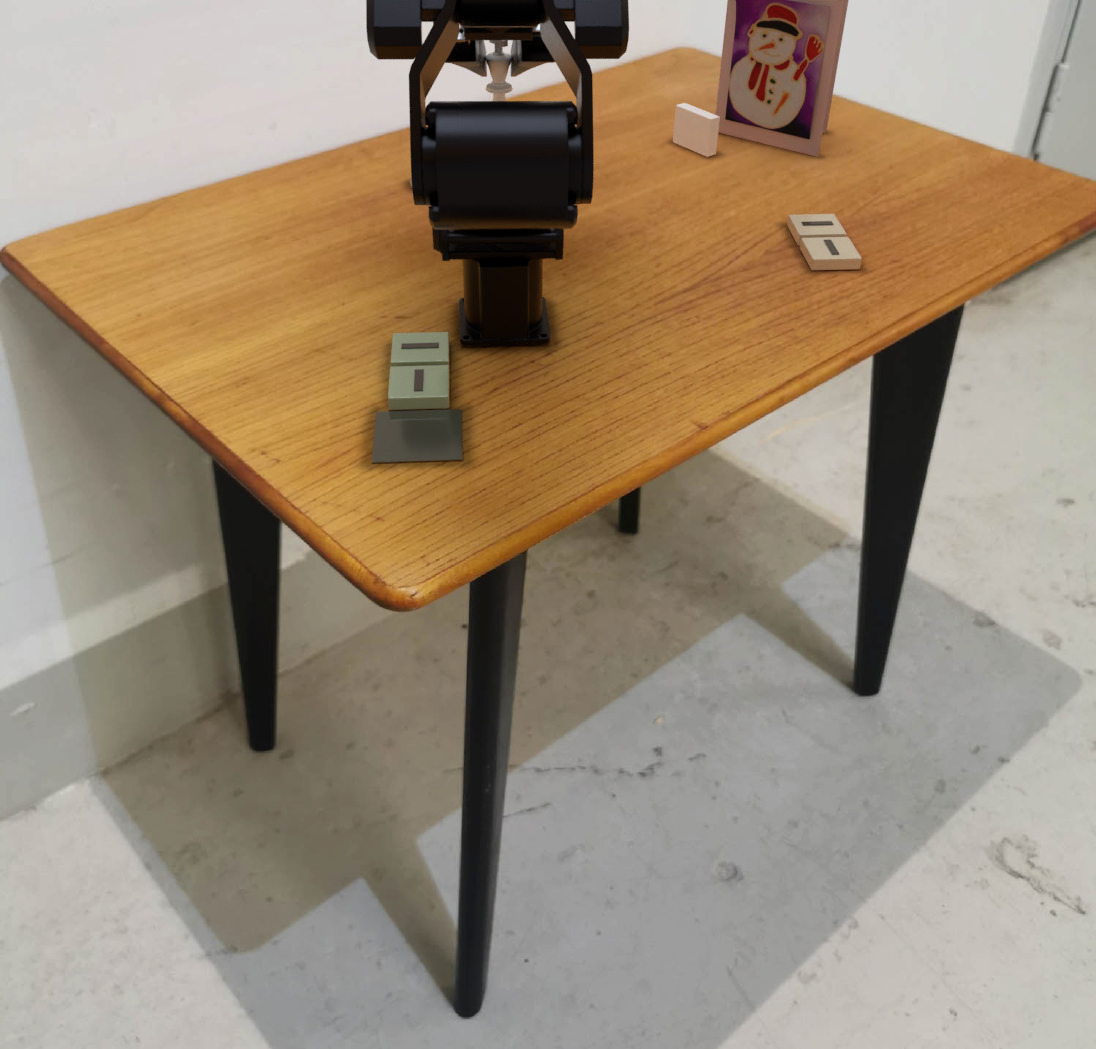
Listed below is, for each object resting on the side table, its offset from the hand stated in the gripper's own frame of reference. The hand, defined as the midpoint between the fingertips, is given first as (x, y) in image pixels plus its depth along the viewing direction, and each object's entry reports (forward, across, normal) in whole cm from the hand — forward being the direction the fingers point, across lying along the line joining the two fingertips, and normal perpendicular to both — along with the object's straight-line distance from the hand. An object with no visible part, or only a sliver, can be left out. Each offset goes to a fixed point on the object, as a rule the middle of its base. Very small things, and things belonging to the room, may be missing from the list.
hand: (498, 70), depth 89 cm
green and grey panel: (-11, +6, +29) cm, 32 cm away
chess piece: (+4, 0, +6) cm, 7 cm away
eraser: (+20, -19, -3) cm, 28 cm away
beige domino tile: (+5, -27, +13) cm, 30 cm away
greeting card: (+22, -28, -5) cm, 36 cm away
